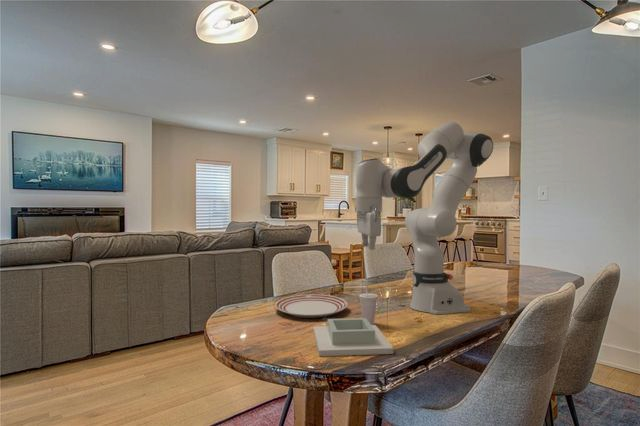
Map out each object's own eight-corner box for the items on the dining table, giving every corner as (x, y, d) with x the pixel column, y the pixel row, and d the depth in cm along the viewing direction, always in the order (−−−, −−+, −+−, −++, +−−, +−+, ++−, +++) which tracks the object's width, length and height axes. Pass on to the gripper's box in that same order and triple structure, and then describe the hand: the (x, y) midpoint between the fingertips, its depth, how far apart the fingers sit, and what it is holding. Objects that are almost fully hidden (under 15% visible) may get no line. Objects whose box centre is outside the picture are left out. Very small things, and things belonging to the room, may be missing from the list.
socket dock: (375, 329, 120) (375, 314, 120) (393, 353, 100) (393, 335, 100) (313, 331, 119) (313, 315, 118) (319, 356, 99) (319, 337, 99)
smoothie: (357, 321, 129) (357, 280, 129) (375, 320, 130) (375, 280, 130) (360, 327, 123) (360, 284, 123) (379, 326, 123) (380, 284, 123)
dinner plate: (341, 324, 126) (341, 314, 126) (264, 319, 132) (264, 310, 132) (351, 304, 153) (351, 296, 153) (287, 300, 159) (287, 292, 159)
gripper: (386, 206, 116) (385, 251, 116) (371, 207, 136) (370, 245, 136) (366, 206, 115) (365, 251, 115) (354, 206, 135) (353, 245, 136)
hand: (368, 248), depth 126 cm, fingers open, 8 cm apart
